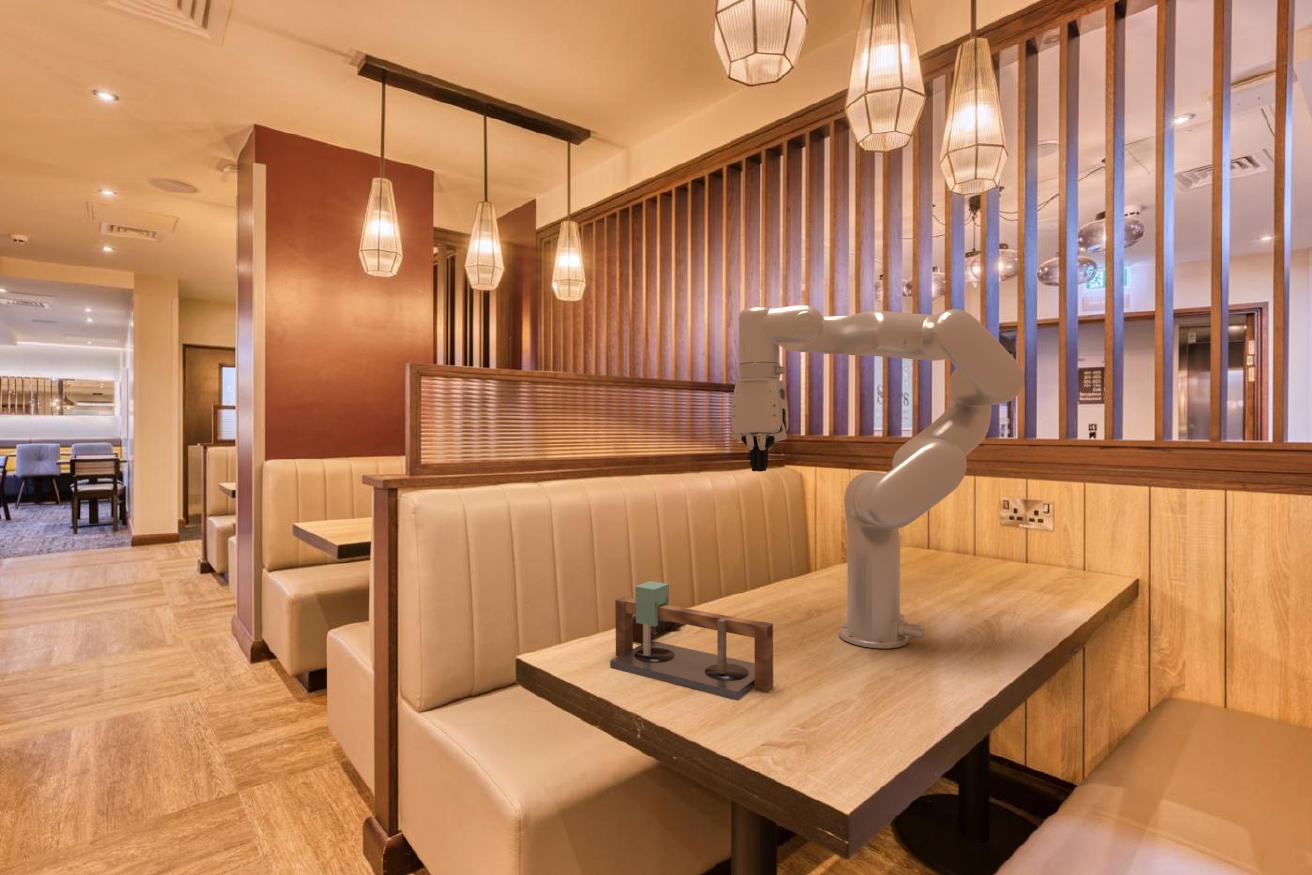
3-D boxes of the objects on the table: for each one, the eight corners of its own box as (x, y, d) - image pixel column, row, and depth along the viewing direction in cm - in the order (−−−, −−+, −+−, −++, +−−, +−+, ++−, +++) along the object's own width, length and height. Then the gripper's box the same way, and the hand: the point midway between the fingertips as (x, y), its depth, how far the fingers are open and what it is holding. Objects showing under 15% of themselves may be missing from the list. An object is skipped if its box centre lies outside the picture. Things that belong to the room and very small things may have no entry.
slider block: (669, 650, 114) (668, 584, 113) (655, 658, 110) (654, 589, 110) (650, 646, 116) (649, 581, 116) (635, 653, 112) (635, 586, 112)
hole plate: (770, 673, 107) (770, 666, 107) (737, 699, 97) (737, 691, 97) (650, 646, 120) (650, 639, 120) (610, 667, 111) (610, 659, 111)
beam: (773, 687, 102) (772, 623, 101) (764, 694, 99) (764, 629, 99) (623, 651, 118) (623, 596, 118) (612, 657, 115) (612, 600, 115)
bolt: (684, 633, 134) (641, 651, 122) (666, 617, 137) (623, 634, 125) (696, 610, 133) (655, 627, 120) (678, 595, 135) (635, 610, 123)
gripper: (803, 373, 122) (804, 471, 123) (732, 377, 131) (733, 468, 131) (788, 370, 116) (788, 473, 117) (714, 374, 125) (714, 470, 125)
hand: (759, 470), depth 124 cm, fingers closed
